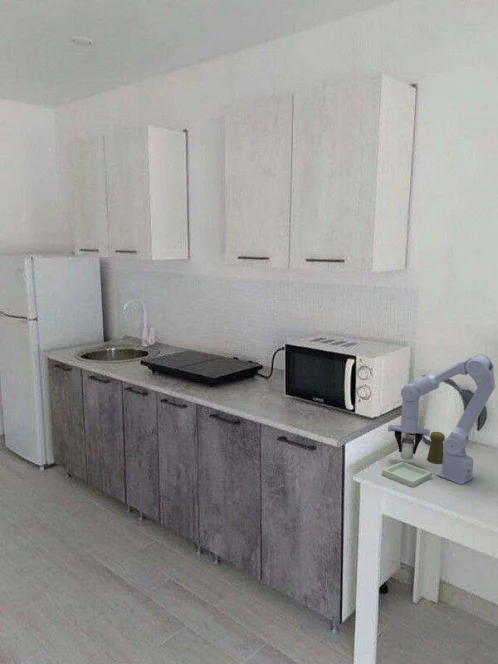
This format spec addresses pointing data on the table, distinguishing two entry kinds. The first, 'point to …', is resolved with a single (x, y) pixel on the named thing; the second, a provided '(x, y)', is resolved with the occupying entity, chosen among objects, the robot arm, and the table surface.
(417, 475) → the tray
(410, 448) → the salt shaker
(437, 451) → the cork
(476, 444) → the table surface
